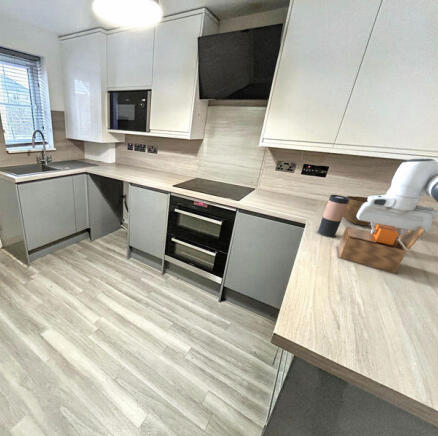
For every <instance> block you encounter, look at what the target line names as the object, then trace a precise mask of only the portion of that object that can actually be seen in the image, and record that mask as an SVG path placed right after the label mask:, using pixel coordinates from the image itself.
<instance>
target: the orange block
mask: <svg viewBox="0 0 438 436" xmlns="http://www.w3.org/2000/svg"><path fill="white" fill-rule="evenodd" d="M375 229H377V230H378V231H377V234H376V235H375V234H373V236H374V238H375V240H376V242H380V243H384V244H389V245H393V244H394V242H395V240H396V238H397V236H398V234H399V232H398V231H397V229H396V227H389V226H384V225H379V224H377V226H376V228H375Z"/></svg>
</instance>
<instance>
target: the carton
mask: <svg viewBox="0 0 438 436" xmlns="http://www.w3.org/2000/svg"><path fill="white" fill-rule="evenodd" d="M337 249H338V257H339V259H342V260H346V261H350V262H353V263H357V264H360V265H363V266H368V267H371V268H375V269H377V270H382V271H385V272H389V273H392V274H396V273H397V271H398V269H399V267H400V265H401V263H402V261H403V260H404V258H405V256H406V253H408V251H407V249H406V247H405V246H404V245H403V243H402V242H401V241H400V239H396V240H395V242H394V244H393V245H389V244H384V243H380V242H376V240H375V238H374V236H373V234H371V230H365V229H361V228H357V227H351V226H345V229H344V231H343V234H342V235H341V238H340V241H339V244H338V246H337Z"/></svg>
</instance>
